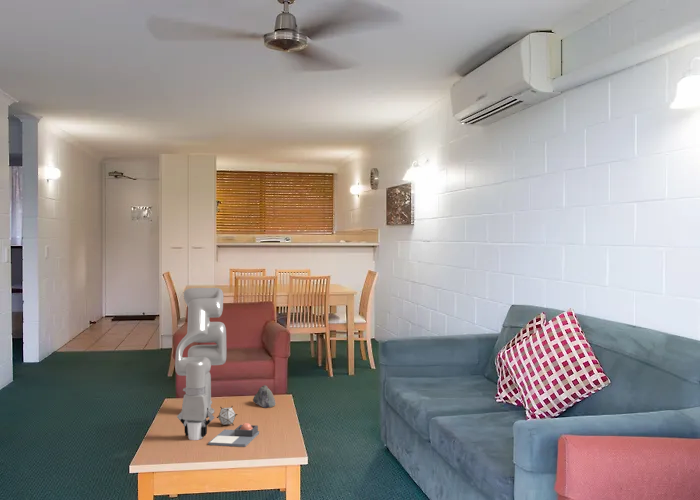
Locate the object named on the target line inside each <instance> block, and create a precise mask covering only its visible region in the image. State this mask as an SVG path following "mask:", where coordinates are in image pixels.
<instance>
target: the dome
mask: <svg viewBox="0 0 700 500" xmlns="http://www.w3.org/2000/svg"><path fill="white" fill-rule="evenodd" d="M241 425H242V426H241V428H240V430H252V429H253V428H252V426H251V425H252V424H251V423H249V422H244V423H242V424H241Z"/></svg>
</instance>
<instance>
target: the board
mask: <svg viewBox="0 0 700 500" xmlns="http://www.w3.org/2000/svg"><path fill="white" fill-rule="evenodd" d="M242 425H243V424H240V425H239V426H237V427H236V428H235V429H226V428H225V429H223V430H222V431H220V432H219V433H218V434H217V435H216V436H214V437H213V438H211V440H209V441H208V444H207V445H208V446H220V447H238V448H246V447H247V446H248V445H249V444H250V443H251V442H252V441H253V440H255V438H257V436H258V435H259V434H260V431H259V426H258V425H253V424H250V425H251V426H252V428H253V429H252V430H240V428H241V426H242Z"/></svg>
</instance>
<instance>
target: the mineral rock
mask: <svg viewBox="0 0 700 500" xmlns="http://www.w3.org/2000/svg"><path fill="white" fill-rule="evenodd" d="M274 396H275V395H274V394H273V392H272V390H270V388H268V385H265V384H264V385H262V386H261V387H259V388H258V391H257V393H255V394H254V396H253V398H252V402H253V403H254V404H256V405H258V406H260V407H262V408H264V409H266V408H273V407H274V406H276V399H275V397H274Z"/></svg>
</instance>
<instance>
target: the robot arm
mask: <svg viewBox="0 0 700 500" xmlns="http://www.w3.org/2000/svg"><path fill="white" fill-rule="evenodd" d="M183 301H184V302H185V305H186V306H187V327H186V328H187V333H186V334H185V336H184V337H182V339H181V340H180V341H179V343H178V345H177V346H176V350H175V359H174V360H175V361H174V362H175V363H174V367H175V373H176V374H177V375H178V376H180V377H181V376H183V377H184V376H185V387H183V389H182V391H183V392H185V394H183V400H182V407H181V411H180V412H179V414H178V415H177V416H176V418H177V419H178V420H179V421H180V423H181V424H182V425H183V427H184V435H185V437H188V427H187V422H188V420H191V421H201V422H202V428H201V437H203V438H204V437H206V435H207V433H208V428H207V427H208V425H209V424H210V423H211V422H212V421H213V420H214V419H215V416H214V415H213V414H214V413H215V408H212V404H213V401H212V375H211V372H210V371H211V367H212V366H222V365H224V364H226V361H227V328H226V325H225V323H224V322H221V321H210V318H220V317H221V316H222V314H223V310H224V292H223V290H222V288H219V287H191V288H186V289H185V290H184V291H183ZM193 343H198V344H196V345H192V346H190V348H188V350H187V356H185V357H184V356H183V353H184V350H185V349H186V348H187V347H188V346H189V345H191V344H193ZM200 343H201V344H200ZM205 343H207V344H205ZM208 343H209V344H208ZM211 343H214V344H211Z"/></svg>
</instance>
